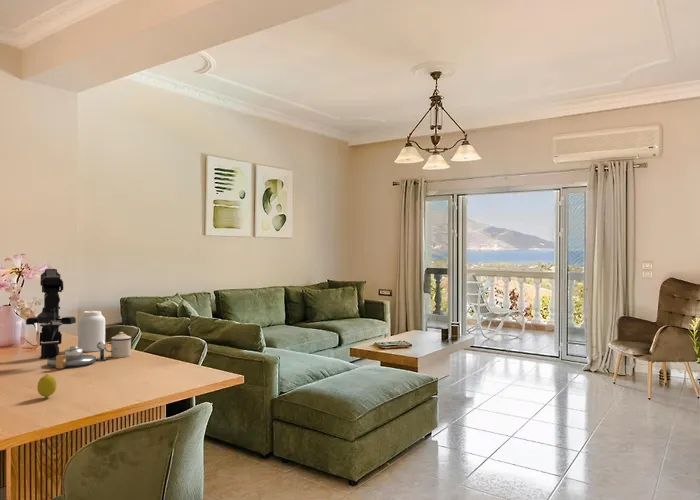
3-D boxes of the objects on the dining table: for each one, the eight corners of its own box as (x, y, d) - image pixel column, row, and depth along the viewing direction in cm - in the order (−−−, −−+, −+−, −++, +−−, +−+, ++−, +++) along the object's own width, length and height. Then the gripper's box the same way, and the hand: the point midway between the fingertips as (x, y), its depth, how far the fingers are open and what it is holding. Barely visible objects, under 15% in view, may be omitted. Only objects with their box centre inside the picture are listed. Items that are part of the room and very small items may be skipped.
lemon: (42, 395, 176) (42, 372, 176) (59, 395, 176) (59, 372, 176) (33, 400, 170) (34, 376, 170) (51, 400, 171) (51, 376, 171)
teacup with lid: (130, 353, 253) (130, 330, 253) (131, 357, 245) (132, 332, 245) (103, 355, 248) (104, 331, 248) (104, 359, 240) (104, 334, 240)
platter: (35, 368, 215) (35, 356, 215) (58, 358, 236) (59, 347, 236) (83, 367, 217) (83, 355, 217) (102, 357, 239) (102, 346, 239)
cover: (61, 360, 224) (61, 348, 224) (69, 357, 231) (69, 345, 231) (78, 360, 225) (78, 348, 225) (85, 357, 232) (85, 345, 232)
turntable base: (51, 367, 221) (51, 365, 221) (63, 361, 233) (63, 360, 233) (80, 366, 223) (80, 365, 223) (91, 361, 235) (91, 359, 235)
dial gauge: (95, 361, 235) (96, 341, 235) (99, 359, 239) (99, 340, 239) (105, 361, 235) (105, 341, 235) (108, 359, 239) (108, 340, 239)
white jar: (110, 348, 268) (110, 310, 268) (93, 352, 256) (93, 312, 256) (89, 347, 271) (90, 309, 271) (72, 351, 258) (72, 312, 259)
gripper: (19, 306, 218) (18, 343, 218) (65, 306, 220) (65, 342, 220) (32, 304, 229) (32, 339, 229) (76, 304, 231) (76, 338, 231)
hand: (50, 340), depth 227 cm, fingers closed
